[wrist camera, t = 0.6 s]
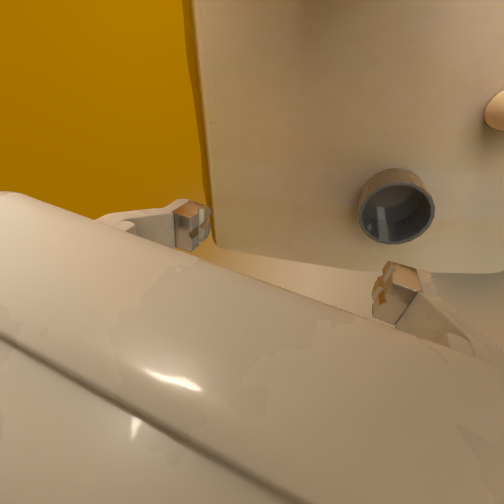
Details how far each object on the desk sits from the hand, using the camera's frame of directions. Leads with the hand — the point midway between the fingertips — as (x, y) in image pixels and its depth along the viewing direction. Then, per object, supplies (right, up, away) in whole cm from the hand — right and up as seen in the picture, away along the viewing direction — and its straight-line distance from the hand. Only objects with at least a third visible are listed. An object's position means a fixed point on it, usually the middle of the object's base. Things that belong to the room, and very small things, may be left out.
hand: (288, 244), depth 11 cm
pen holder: (+25, +10, +36) cm, 45 cm away
